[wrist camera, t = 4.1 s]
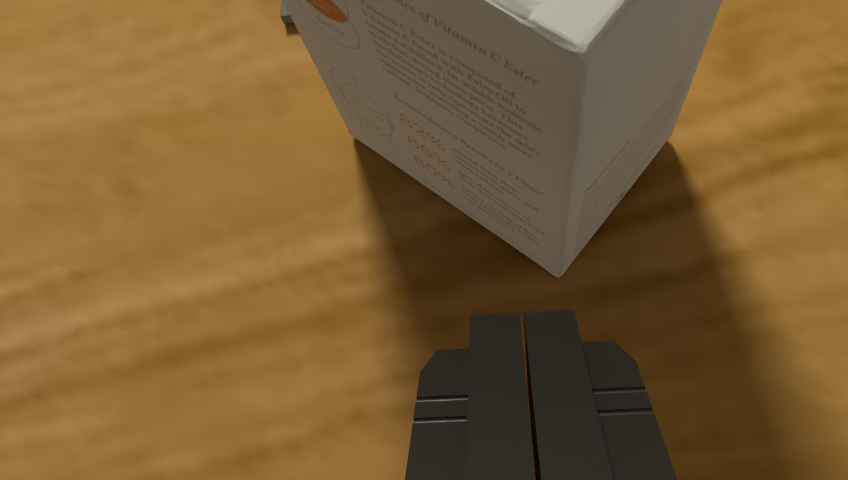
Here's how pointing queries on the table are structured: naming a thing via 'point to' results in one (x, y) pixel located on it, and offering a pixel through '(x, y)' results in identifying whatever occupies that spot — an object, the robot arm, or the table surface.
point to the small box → (513, 100)
